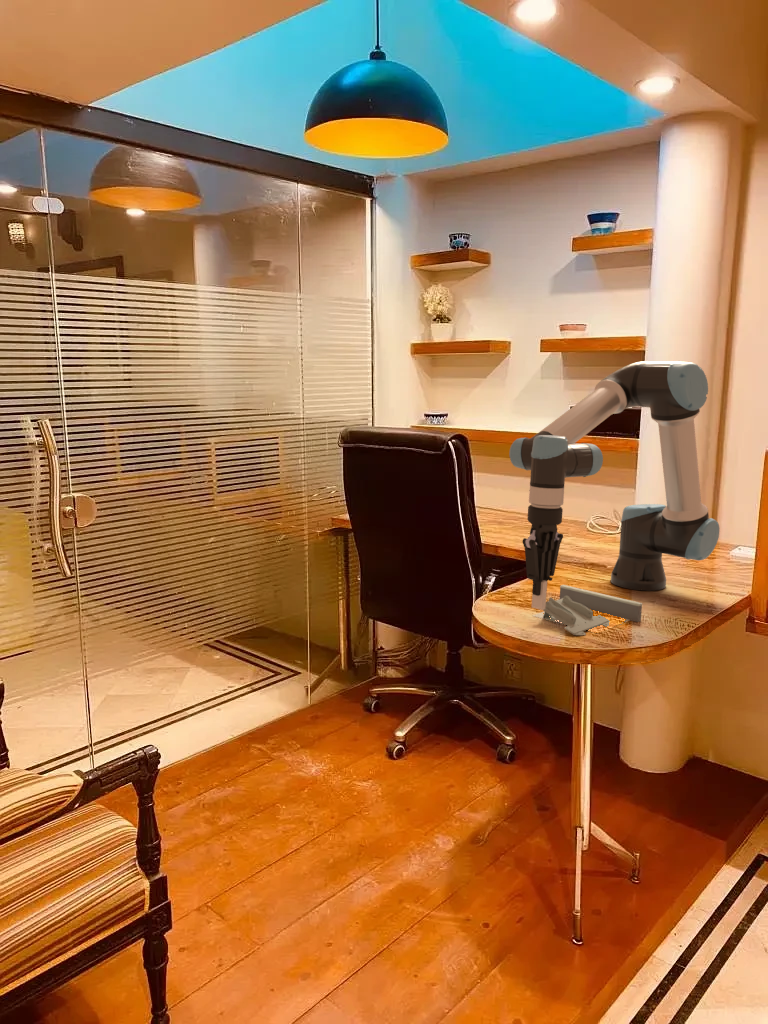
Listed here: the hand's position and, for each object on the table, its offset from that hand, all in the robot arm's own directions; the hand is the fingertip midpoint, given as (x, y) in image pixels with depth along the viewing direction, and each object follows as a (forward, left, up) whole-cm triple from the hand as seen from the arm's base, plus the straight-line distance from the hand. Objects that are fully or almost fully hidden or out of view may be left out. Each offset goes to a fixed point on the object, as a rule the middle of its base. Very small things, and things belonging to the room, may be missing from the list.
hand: (538, 608), depth 177 cm
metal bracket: (-13, +1, -7) cm, 15 cm away
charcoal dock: (-20, 0, -6) cm, 21 cm away
